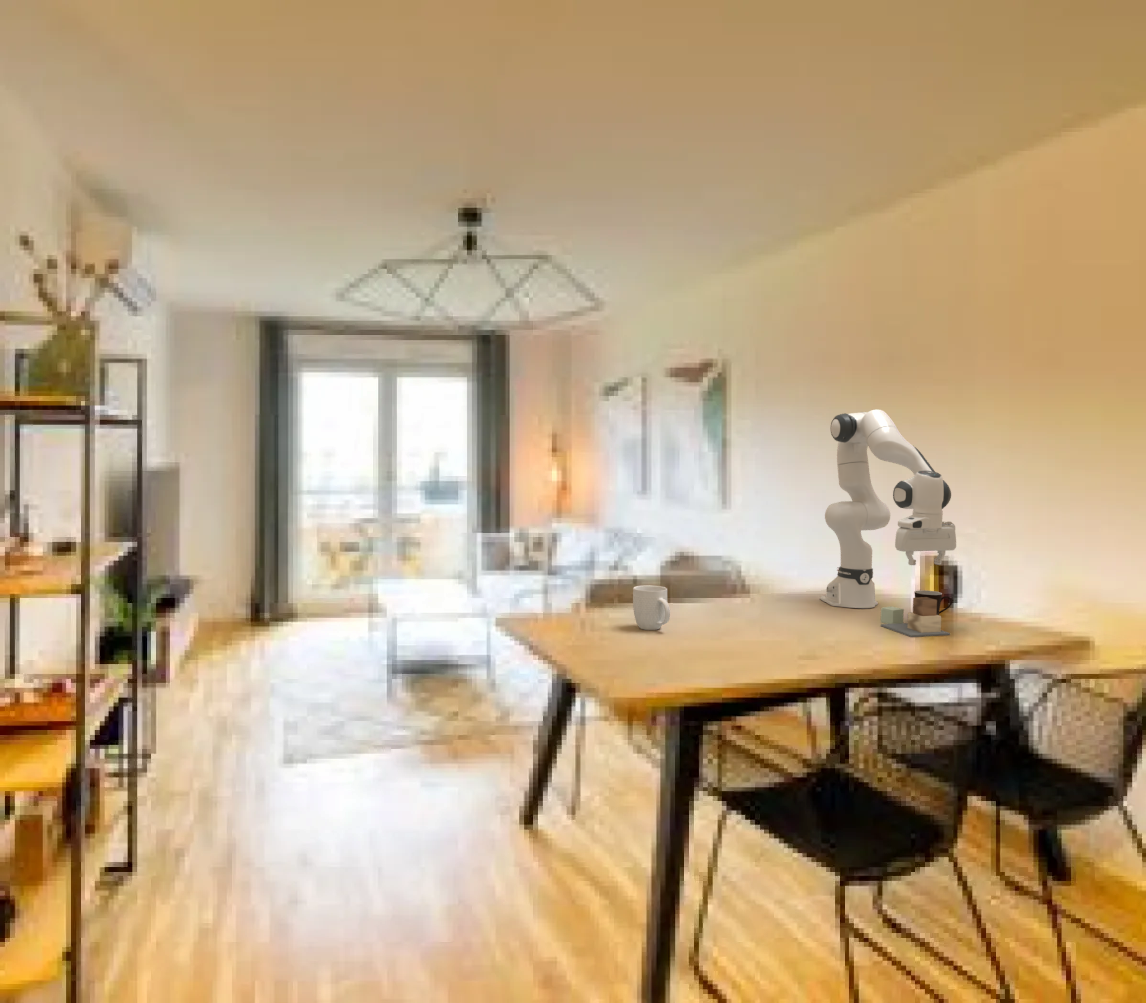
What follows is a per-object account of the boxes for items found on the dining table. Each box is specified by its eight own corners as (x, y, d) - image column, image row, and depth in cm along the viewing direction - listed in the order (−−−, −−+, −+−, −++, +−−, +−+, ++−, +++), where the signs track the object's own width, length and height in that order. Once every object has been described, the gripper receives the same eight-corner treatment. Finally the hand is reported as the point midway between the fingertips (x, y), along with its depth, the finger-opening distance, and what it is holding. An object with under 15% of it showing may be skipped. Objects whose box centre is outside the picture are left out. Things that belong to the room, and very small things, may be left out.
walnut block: (912, 613, 266) (913, 597, 266) (926, 612, 267) (926, 597, 267) (922, 616, 261) (923, 600, 261) (936, 615, 262) (936, 600, 262)
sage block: (880, 622, 279) (881, 607, 278) (890, 620, 281) (891, 606, 281) (892, 625, 274) (893, 610, 274) (903, 623, 277) (903, 609, 276)
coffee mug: (912, 622, 278) (913, 593, 277) (914, 618, 285) (915, 589, 285) (949, 626, 272) (951, 596, 272) (951, 621, 280) (952, 592, 279)
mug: (681, 631, 261) (682, 590, 261) (654, 635, 255) (655, 594, 255) (652, 623, 274) (652, 584, 273) (625, 626, 268) (626, 587, 267)
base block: (907, 627, 267) (908, 612, 267) (926, 626, 269) (926, 611, 268) (921, 632, 260) (922, 617, 260) (940, 631, 262) (941, 616, 261)
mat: (880, 626, 272) (880, 624, 272) (917, 624, 275) (917, 622, 275) (911, 637, 256) (911, 635, 256) (949, 635, 260) (950, 633, 260)
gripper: (948, 520, 269) (946, 562, 270) (893, 521, 264) (891, 563, 265) (961, 522, 263) (959, 565, 264) (905, 523, 258) (903, 567, 259)
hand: (924, 564), depth 264 cm, fingers open, 8 cm apart
